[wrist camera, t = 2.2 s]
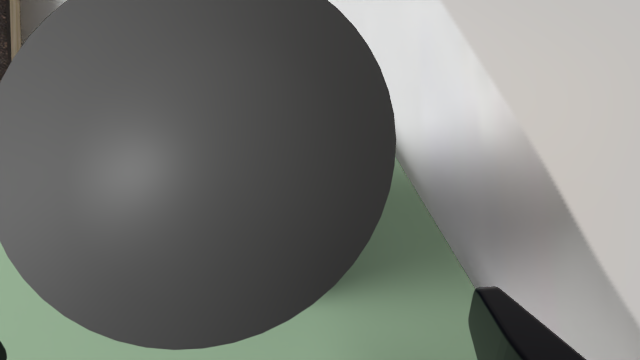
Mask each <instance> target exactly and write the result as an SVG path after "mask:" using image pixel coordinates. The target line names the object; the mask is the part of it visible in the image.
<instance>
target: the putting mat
mask: <svg viewBox="0 0 640 360" xmlns="http://www.w3.org/2000/svg"><path fill="white" fill-rule="evenodd" d="M474 290H475V288H474V286H473V285H472V283H471V281H470V280H469V278H468V276H467V275H466V273H465V271H464V270H463V268H462V266H461V265H460V263H459V261H458V260H457V258H456V256H455V255H454V253H453V251H452V250H451V248H450V246H449V245H448V243H447V241H446V240H445V238H444V236H443V235H442V233H441V232H440V230H439V228H438V227H437V225H436V223H435V222H434V220H433V218H432V217H431V215H430V213H429V212H428V210H427V208H426V207H425V205H424V203H423V202H422V200H421V198H420V197H419V195H418V193H417V192H416V190H415V188H414V187H413V185H412V184H411V182H410V180H409V179H408V177H407V175H406V174H405V172H404V170H403V169H402V167H401V165H400V164H399V162H398V160H397V159H396V157H395V166H394V171H393V177H392V182H391V187H390V192H389V195H388V198H387V201H386V204H385V207H384V210H383V213H382V216H381V218H380V220H379V222H378V224H377V226H376V228H375V230H374V232H373V234H372V236H371V238H370V240H369V242H368V243H367V245H366V246H365V248H364V249H363V251H362V252H361V254H360V255H359V257H358V258H357V260H356V261H355V263H354V264H353V265H352V266H351V268H350V269H349V270H348V271H347V272H346V273H345V274H344V276H343V277H342V278H341V279H340V280H339V281H338V282H337V283H336V285H335V286H334V287H332V288H331V289H330V290H329V291H328V292H327V293H326V294H324V295H323V296H322V297H321V298H320V299H319V300H317V301H316V302H315V303H314V304H313V305H311V306H310V307H308V308H307V309H305V310H304V311H302V312H301V313H299V314H298V315H296V316H295V317H293V318H292V319H290V320H289V321H287V322H285V323H283V324H280V325H278V326H276V327H274V328H272V329H270V330H268V331H266V332H264V333H262V334H259V335H256V336H253V337H250V338H247V339H244V340H241V341H238V342H235V343H231V344H225V345H220V346H215V347H210V348H204V349H185V350H168V349H157V348H145V347H141V346H136V345H132V344H128V343H123V342H119V341H115V340H113V339H110V338H108V337H105V336H102V335H100V334H97V333H95V332H92V331H89V330H88V329H86V328H84V327H82V326H81V325H79V324H77V323H75V322H73V321H72V320H70V319H68V318H66V317H65V316H63V315H62V314H61V313H59V312H58V311H57V310H56V309H54V308H53V307H52V306H50V305H49V304H48V303H47V302H45V301H44V300H43V299H42V298H41V297H40V296H39V295H38V294H37V293H36V292H35V291H34V290H33V289H32V288H31V287H30V286H29V285H28V284H27V283H26V281H25V280H24V279H23V278H22V277H21V275H20V274H19V272H18V271H17V269H16V268H15V267H14V265H13V264H12V262H11V261H10V259H9V258H8V256H7V254H6V252H5V250H4V248H3V246H2V244H1V242H0V341H1V343H2V344H3V346H4V348H5V349H6V353H7V360H477V356H476V353H475V349H474V345H473V341H472V338H471V334H470V330H469V324H468V317H469V311H470V306H471V302H472V297H473V293H474Z"/></svg>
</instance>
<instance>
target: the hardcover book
mask: <svg viewBox="0 0 640 360" xmlns="http://www.w3.org/2000/svg"><path fill="white" fill-rule="evenodd" d="M20 48H21V24H20V0H0V82H1V80H2V78H3V76H4V74H5V72H6V71H7V69H8V67H9V65H10V63H11V62H12V60H13V58H14V56H15V55H16V54H17V52H18V51H19V50H20Z"/></svg>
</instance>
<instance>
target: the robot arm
mask: <svg viewBox="0 0 640 360" xmlns="http://www.w3.org/2000/svg"><path fill="white" fill-rule="evenodd" d="M468 324H469V330H470V334H471V338H472V341H473V345H474V349H475V353H476V356H477V360H586V359H585V358H584V357H582V356H581V355H580V354H579V353H577V352H576V351H575V350H574V349H573V348H571V347H570V346H569V345H568V344H567V343H565V342H564V341H563V340H562V339H560V338H559V337H558V336H557V335H556V334H554V333H553V332H552V331H551V330H550V329H548V328H547V327H546V326H545V325H543V324H542V323H541V322H540V321H539V320H537V319H536V318H535V317H534V316H533V315H531V314H530V313H529V312H528V311H526V310H525V309H524V308H523V307H522V306H520V305H519V304H518V303H517V302H516V301H514V300H513V299H512V298H511V297H509V296H508V295H507V294H506V293H505V292H503V291H502V290H501V289H500V288H497V287H480V288H476V289H475V290H474V293H473V297H472V302H471V306H470V311H469V317H468ZM0 360H7V353H6V349H5V348H4V346H3V344H2V343H1V341H0Z"/></svg>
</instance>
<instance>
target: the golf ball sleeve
mask: <svg viewBox="0 0 640 360" xmlns="http://www.w3.org/2000/svg"><path fill="white" fill-rule="evenodd" d="M395 149H396V134H395V122H394V113H393V108H392V104H391V100H390V95H389V91H388V88H387V85H386V82H385V80H384V77H383V74H382V72H381V69H380V67H379V65H378V63H377V61H376V59H375V57H374V55H373V54H372V52H371V50H370V48H369V46H368V45H367V43H366V42H365V40H364V39H363V38H362V36H361V35H360V34H359V32H358V31H357V29H356V28H355V27H354V26H353V24H352V23H351V22H350V21H349V20H348V19H347V18H346V17H345V16H344V15H343V14H342V13H341V12H340V11H339V10H338V9H337V8H336V7H335V6H334V5H332V4H331V3H330V2H329V1H328V0H67V1H66V2H64V3H63V4H62V5H61V6H60V7H59V8H57V9H56V10H55V11H54V12H53V13H51V14H50V15H49V16H48V17H47V18H46V19H45V20H44V21H43V22H42V23H41V24H40V25H39V26H38V27H37V28H36V30H35V31H34V32H33V33H32V34H31V35H30V36H29V37H28V39H27V40H26V41H25V43H24V44H23V45H22V47H21V48H20V50H19V51H18V52H17V54H16V55H15V56H14V58H13V60H12V62H11V63H10V65H9V67H8V69H7V71H6V72H5V74H4V76H3V78H2V80H1V82H0V242H1V244H2V246H3V248H4V250H5V252H6V254H7V256H8V258H9V259H10V261H11V262H12V264H13V265H14V267H15V268H16V269H17V271H18V272H19V274H20V275H21V277H22V278H23V279H24V280H25V281H26V283H27V284H28V285H29V286H30V287H31V288H32V289H33V290H34V291H35V292H36V293H37V294H38V295H39V296H40V297H41V298H42V299H43V300H44V301H45V302H47V303H48V304H49V305H50V306H52V307H53V308H54V309H56V310H57V311H58V312H59V313H61V314H62V315H63V316H65V317H66V318H68V319H70V320H72V321H73V322H75V323H77V324H79V325H81V326H82V327H84V328H86V329H88V330H89V331H92V332H95V333H97V334H100V335H102V336H105V337H108V338H110V339H113V340H115V341H119V342H123V343H128V344H132V345H136V346H141V347H145V348H157V349H168V350H185V349H204V348H210V347H215V346H220V345H225V344H231V343H235V342H238V341H241V340H244V339H247V338H250V337H253V336H256V335H259V334H262V333H264V332H266V331H268V330H270V329H272V328H274V327H276V326H278V325H280V324H283V323H285V322H287V321H289V320H290V319H292V318H293V317H295V316H296V315H298V314H299V313H301V312H302V311H304V310H305V309H307V308H308V307H310V306H311V305H313V304H314V303H315V302H316V301H317V300H319V299H320V298H321V297H322V296H323V295H324V294H326V293H327V292H328V291H329V290H330V289H331V288H332V287H334V286H335V285H336V283H337V282H338V281H339V280H340V279H341V278H342V277H343V276H344V274H345V273H346V272H347V271H348V270H349V269H350V268H351V266H352V265H353V264H354V263H355V261H356V260H357V258H358V257H359V255H360V254H361V252H362V251H363V249H364V248H365V246H366V245H367V243H368V242H369V240H370V238H371V236H372V234H373V232H374V230H375V228H376V226H377V224H378V222H379V220H380V218H381V216H382V213H383V210H384V207H385V204H386V201H387V198H388V195H389V192H390V187H391V182H392V177H393V171H394V166H395Z"/></svg>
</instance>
